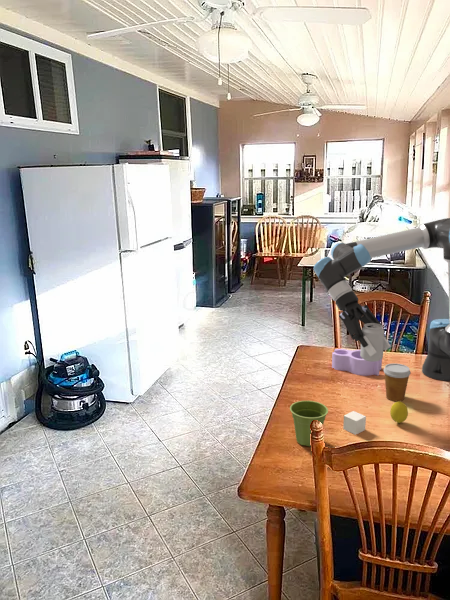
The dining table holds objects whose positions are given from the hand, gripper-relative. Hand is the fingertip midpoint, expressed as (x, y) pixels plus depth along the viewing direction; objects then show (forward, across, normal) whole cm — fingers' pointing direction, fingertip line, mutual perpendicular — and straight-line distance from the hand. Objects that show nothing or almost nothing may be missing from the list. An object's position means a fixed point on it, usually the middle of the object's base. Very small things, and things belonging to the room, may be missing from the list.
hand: (380, 351), depth 167 cm
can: (0, 0, -5) cm, 5 cm away
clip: (-4, -28, -38) cm, 48 cm away
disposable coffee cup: (+14, -16, -19) cm, 29 cm away
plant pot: (+14, +31, -20) cm, 39 cm away
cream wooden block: (+17, +14, -16) cm, 28 cm away
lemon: (+23, 0, -11) cm, 25 cm away
